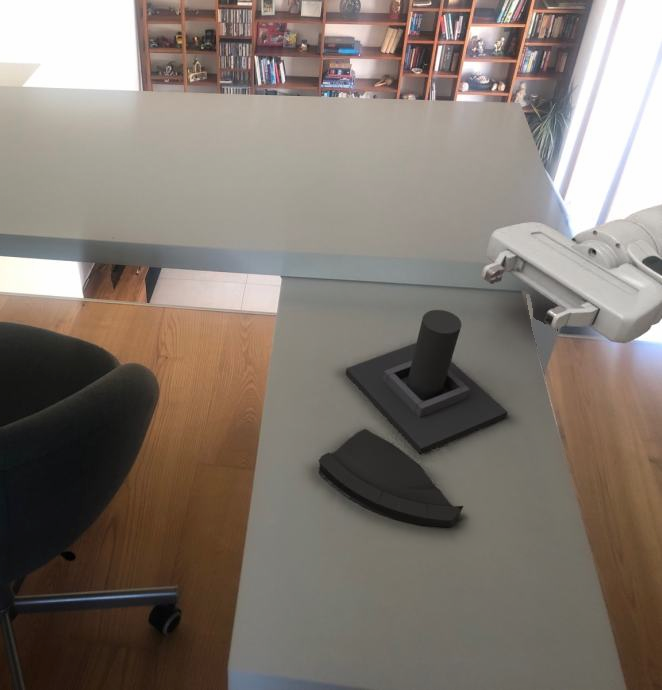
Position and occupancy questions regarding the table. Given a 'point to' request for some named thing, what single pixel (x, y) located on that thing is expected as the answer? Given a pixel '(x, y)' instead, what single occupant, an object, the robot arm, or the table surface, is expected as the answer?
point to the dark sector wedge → (386, 481)
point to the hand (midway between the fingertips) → (517, 297)
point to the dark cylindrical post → (433, 353)
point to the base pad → (424, 401)
